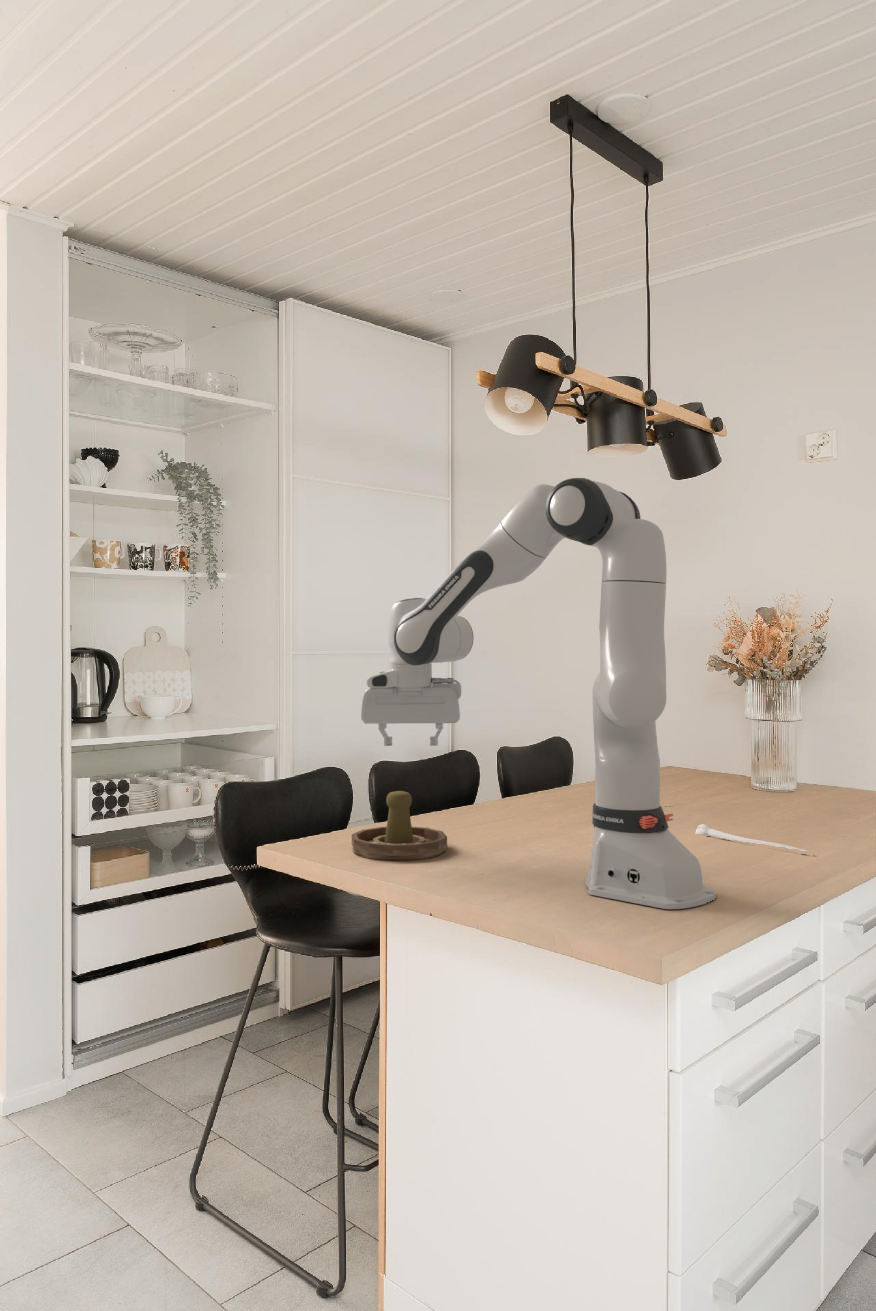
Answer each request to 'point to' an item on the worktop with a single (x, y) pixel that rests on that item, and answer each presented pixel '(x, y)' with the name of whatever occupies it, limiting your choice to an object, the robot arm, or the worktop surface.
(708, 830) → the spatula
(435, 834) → the tray
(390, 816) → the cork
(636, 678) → the robot arm
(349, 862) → the worktop surface
